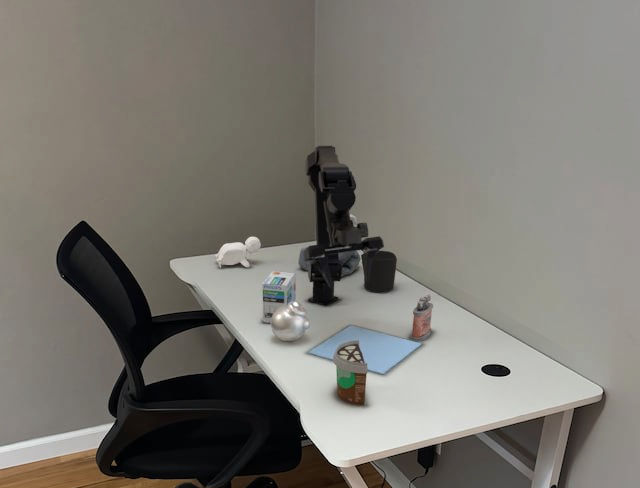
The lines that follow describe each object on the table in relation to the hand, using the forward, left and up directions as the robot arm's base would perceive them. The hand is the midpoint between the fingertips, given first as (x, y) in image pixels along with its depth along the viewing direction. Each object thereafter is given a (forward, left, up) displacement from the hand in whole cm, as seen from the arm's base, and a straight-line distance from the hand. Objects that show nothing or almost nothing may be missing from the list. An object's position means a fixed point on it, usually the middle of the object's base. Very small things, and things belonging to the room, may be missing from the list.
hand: (349, 284), depth 167 cm
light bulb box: (-2, -22, -14) cm, 26 cm away
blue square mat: (+3, +7, -14) cm, 16 cm away
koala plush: (-44, -31, -14) cm, 56 cm away
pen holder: (-37, -11, -14) cm, 41 cm away
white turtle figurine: (-31, -59, -14) cm, 68 cm away
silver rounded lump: (+9, -11, -14) cm, 20 cm away
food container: (+26, +15, -14) cm, 33 cm away
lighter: (-12, +14, -14) cm, 23 cm away
